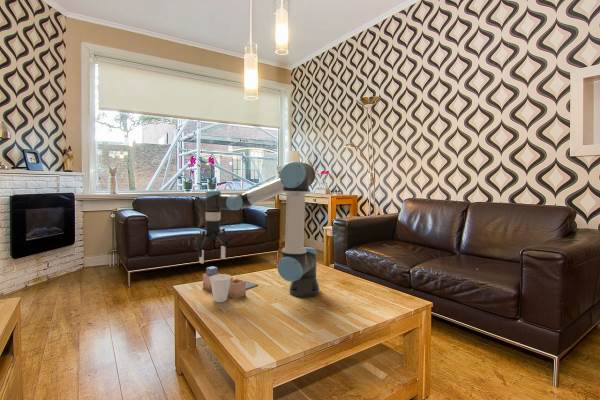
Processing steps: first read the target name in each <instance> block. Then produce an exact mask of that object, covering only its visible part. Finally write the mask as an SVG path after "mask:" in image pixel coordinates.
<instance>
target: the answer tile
mask: <svg viewBox="0 0 600 400" xmlns="http://www.w3.org/2000/svg"><path fill="white" fill-rule="evenodd" d="M245 281H246V291H247V290H249V289H252V288H256V287H258V286H259V284H258V283H254V282H251V281H248V280H245Z"/></svg>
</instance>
